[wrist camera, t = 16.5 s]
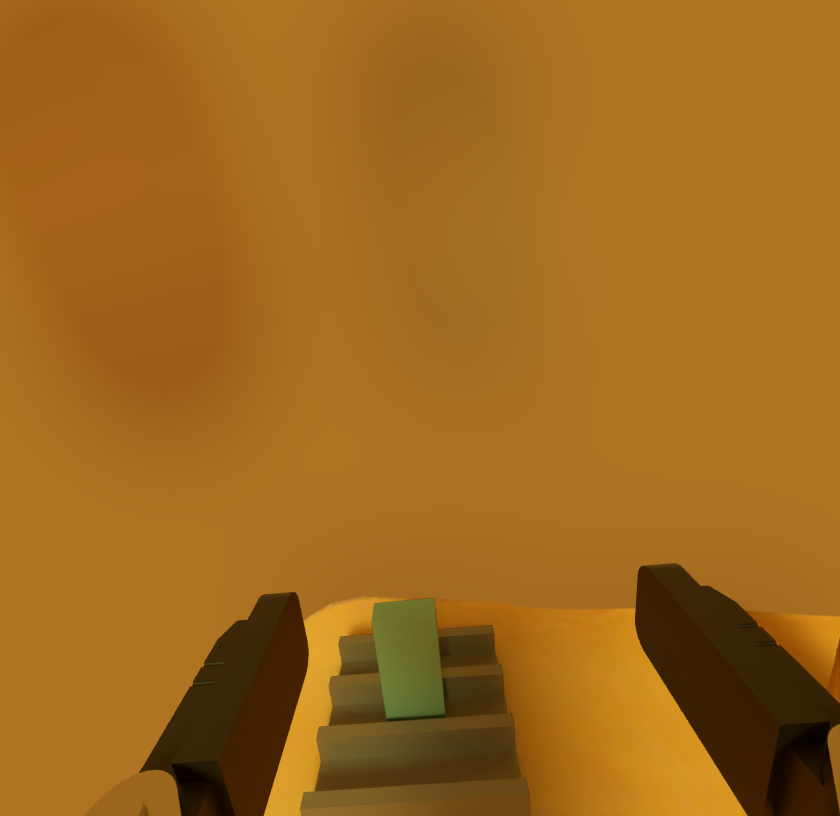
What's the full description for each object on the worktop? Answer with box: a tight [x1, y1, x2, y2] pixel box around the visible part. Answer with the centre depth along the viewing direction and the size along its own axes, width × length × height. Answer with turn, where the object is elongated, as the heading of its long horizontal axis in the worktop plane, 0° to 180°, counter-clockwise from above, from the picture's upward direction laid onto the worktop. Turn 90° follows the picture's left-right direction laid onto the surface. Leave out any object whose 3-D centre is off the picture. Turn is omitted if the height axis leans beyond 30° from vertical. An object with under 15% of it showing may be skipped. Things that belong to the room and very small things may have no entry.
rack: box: [300, 625, 530, 816], centre depth 36 cm, size 16×15×4 cm
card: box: [372, 598, 446, 722], centre depth 34 cm, size 5×2×12 cm, turn 91°
